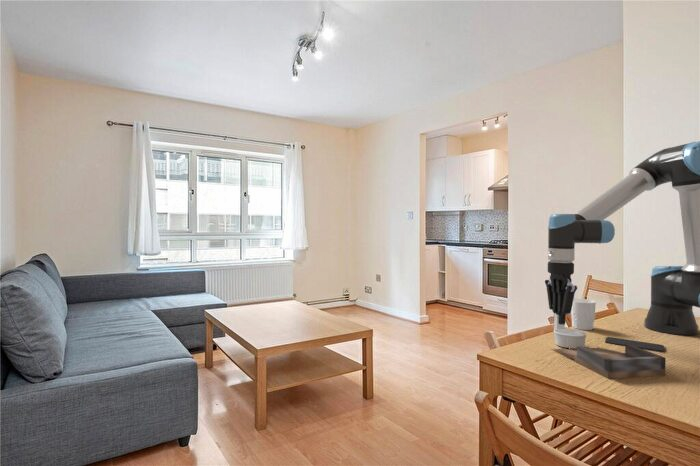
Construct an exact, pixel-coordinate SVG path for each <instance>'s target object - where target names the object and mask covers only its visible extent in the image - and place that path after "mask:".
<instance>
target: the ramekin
mask: <svg viewBox="0 0 700 466" xmlns="http://www.w3.org/2000/svg"><path fill="white" fill-rule="evenodd" d="M553 334H554V341H555V342H554V343H555V344H556V345H557V346H559V347H561V348H563V349H567V348H570V349H577V346H582V347H584V348H585V345H586V338H587V332H585V331H584V330H580V329H575V328H574V329H573V328H565V329H564V328H562V329H555V330H554V329H553Z"/></svg>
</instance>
